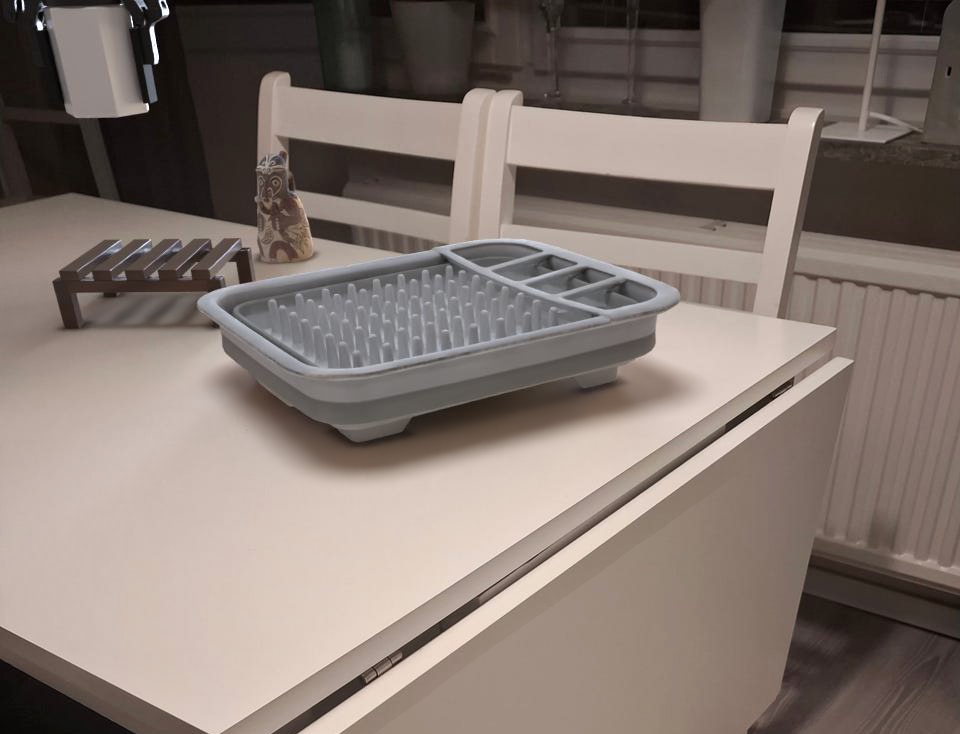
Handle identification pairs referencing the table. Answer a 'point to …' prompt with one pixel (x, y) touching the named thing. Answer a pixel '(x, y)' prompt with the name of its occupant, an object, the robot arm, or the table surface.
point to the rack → (148, 270)
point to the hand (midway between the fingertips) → (105, 102)
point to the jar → (94, 57)
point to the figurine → (280, 214)
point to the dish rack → (436, 329)
